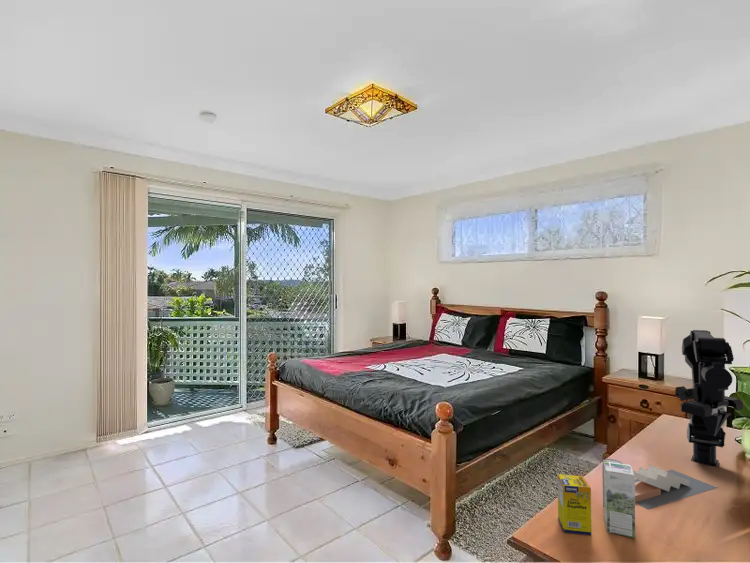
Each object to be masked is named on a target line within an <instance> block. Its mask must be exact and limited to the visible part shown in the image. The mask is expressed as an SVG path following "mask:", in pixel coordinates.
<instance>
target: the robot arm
mask: <svg viewBox="0 0 750 563" xmlns="http://www.w3.org/2000/svg"><path fill="white" fill-rule="evenodd" d="M681 355H682V356H684V362H685V364H687V365H688V367H689V368H690V369H691V377H692V378H691V379H692V388H691V387H689V388H686V387H685V386H683V385H682V386H676V387H675V389H674V390H675V392H674V396H676V397H677V399H679V400H680V402H682V401H684V402H682V403H681V404H680V412H682V413H686V414H689V415H692V416H691V417H690V419H689V422H688V424H687V429H686V439H687V441H688V443H690V444H691V443H692V454H693V455H692V456H691V459H690V462H693V463H696V464H697V463H698V464H701V465H705V466H710V467H716V468H717V467H719V463H720V462H719V461H720V460H719V459H717V447H719V448H724V447H725V439H726V436H727V435H726V432H725V430H724V429H723V427H722V426H723V425H724V423H725V422H726V421H727V419H728V417H729V416H731V415H732V413H731V412H730V411H727V410H726V408H727V407H731V408H734V410H735V411H741V410H744V402H743V401H742V400H741V399H740V398H736V397H733V396H732V397H731V396H727V395H726V391H728V390H729V387H730V386H731V385H732V383H733V376H732V374H731V372H729V370H727V369H726V365H733V362H734V359H735V358H734V352H733V349H732V346H731V345H730V343H729V342H728V341H726V338H724V337H714V336H713V335H712V334H711V331H710V330H709V331H708V330H706V329H705V330H702V329H701V330H699V329H692V330H690V333H689V335H687V336H686V337H684V338H682V345H681ZM685 400H687V401H685ZM725 407H726V408H725Z"/></svg>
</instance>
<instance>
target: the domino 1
mask: <svg viewBox="0 0 750 563" xmlns="http://www.w3.org/2000/svg"><path fill="white" fill-rule="evenodd" d="M633 473H634V476H635V479H638V480H641V481H643V482H645V483H647V484H650V485H653V486H655V487H658V488H660V489H663V490H666V491H668V492H669V490H670V487H671V486H670V485H667V484H664V483H662V482H659V481H657V480H655V479H652V478H650V477H648V476H645V475H643V474H641V473H638V471H635V470H633Z"/></svg>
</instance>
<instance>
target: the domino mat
mask: <svg viewBox="0 0 750 563" xmlns="http://www.w3.org/2000/svg"><path fill="white" fill-rule="evenodd" d="M666 471H667V472H670V473H672V474H674V475H677V476H679V477H682V478H684V479H687V480H689V481H690V482H689V486H686V485H683V484H681V483H680V487H679V489H677V488H675V487H672V486H671V487H670V490H669V492H668V491H666V490H663V489H661V495H658V496H654V497H651V498H648V499H644V500H641V501H638V502H635V504H637V505H638V506H640V507H642V508H645V509H646V510H651V509H654V508H658V507H659V506H663V505H666V504H670V503H672V502H676V501H680V500H682V499H683V500H684V499H686V498H688V497H689V498H690V497H692V496H693V497H694V496H696V495H699V494H701V493H705V492H708V491H711V490H715V489H718V487H717V486H714V485H712V484H709V483H707V482H705V481H702V480H700V479H696V478H694V477H692V476H690V475H686V474H684V473H682V472H679V471H676V470H674V469H669V470H666ZM638 481H641V480H638V479H636V478H635V482H638Z"/></svg>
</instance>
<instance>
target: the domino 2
mask: <svg viewBox="0 0 750 563" xmlns="http://www.w3.org/2000/svg"><path fill="white" fill-rule="evenodd" d="M637 472H638V473H641V474H643V475H645V476H648V477H650V478H652V479H655V480H657V481H659V482H662V483H664V484H667V485H670V486H672V487H675V488H677V489H679V487H680V483H678V482H676V481H673V480H671V479H668V478H666V477H663V476H661V475H659V474H656V473H654V472H651V471H649V470H648V468H647V469H646V468H644V467H642V466H639V468H638V471H637Z"/></svg>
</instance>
